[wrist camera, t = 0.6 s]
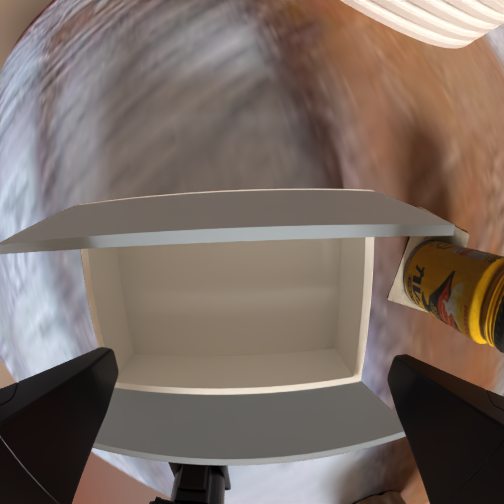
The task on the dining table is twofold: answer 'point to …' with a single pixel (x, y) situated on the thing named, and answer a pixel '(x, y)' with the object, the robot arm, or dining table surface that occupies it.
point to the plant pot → (383, 499)
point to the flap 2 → (246, 425)
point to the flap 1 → (227, 220)
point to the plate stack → (436, 18)
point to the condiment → (454, 285)
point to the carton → (233, 312)
